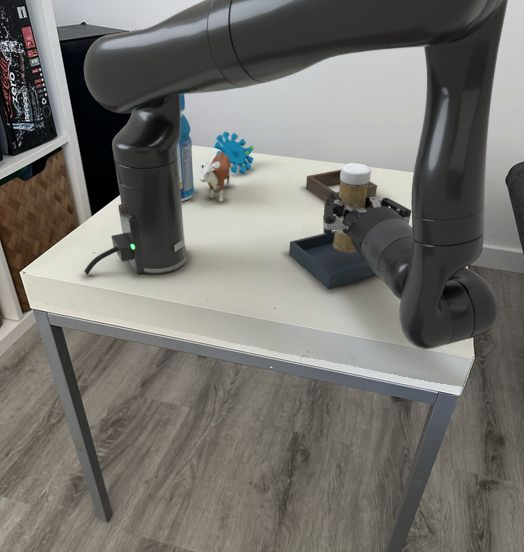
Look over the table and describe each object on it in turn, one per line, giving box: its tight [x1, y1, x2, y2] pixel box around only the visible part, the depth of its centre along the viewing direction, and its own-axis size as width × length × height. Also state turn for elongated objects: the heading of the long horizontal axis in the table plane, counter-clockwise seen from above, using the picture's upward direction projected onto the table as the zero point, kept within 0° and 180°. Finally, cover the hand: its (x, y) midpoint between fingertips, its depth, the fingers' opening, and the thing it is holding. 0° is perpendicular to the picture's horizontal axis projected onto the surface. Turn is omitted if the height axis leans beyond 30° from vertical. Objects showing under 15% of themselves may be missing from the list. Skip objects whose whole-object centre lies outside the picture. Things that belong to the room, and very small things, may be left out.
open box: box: [305, 169, 378, 203], centre depth 110 cm, size 11×11×3 cm
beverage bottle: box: [177, 94, 195, 202], centre depth 102 cm, size 8×8×20 cm
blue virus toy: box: [213, 131, 255, 174], centre depth 120 cm, size 11×6×10 cm
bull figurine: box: [199, 151, 231, 203], centre depth 106 cm, size 4×13×8 cm, turn 168°
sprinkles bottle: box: [333, 162, 372, 253], centre depth 83 cm, size 5×5×13 cm
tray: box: [288, 230, 378, 290], centre depth 88 cm, size 14×12×2 cm
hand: (345, 196), depth 84 cm, fingers closed on sprinkles bottle, 4 cm apart
